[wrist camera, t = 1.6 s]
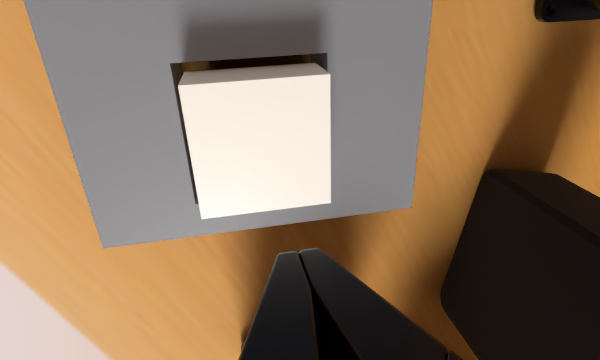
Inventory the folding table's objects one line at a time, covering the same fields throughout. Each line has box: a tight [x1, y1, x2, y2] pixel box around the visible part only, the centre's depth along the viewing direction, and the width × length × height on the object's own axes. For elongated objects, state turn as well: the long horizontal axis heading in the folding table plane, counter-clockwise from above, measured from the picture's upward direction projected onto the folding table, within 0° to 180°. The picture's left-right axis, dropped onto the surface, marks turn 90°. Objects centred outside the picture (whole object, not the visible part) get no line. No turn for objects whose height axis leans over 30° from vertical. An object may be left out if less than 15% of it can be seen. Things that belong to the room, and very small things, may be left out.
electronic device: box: [440, 170, 600, 360], centre depth 20 cm, size 4×10×10 cm, turn 172°
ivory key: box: [178, 63, 331, 219], centre depth 15 cm, size 5×5×2 cm
